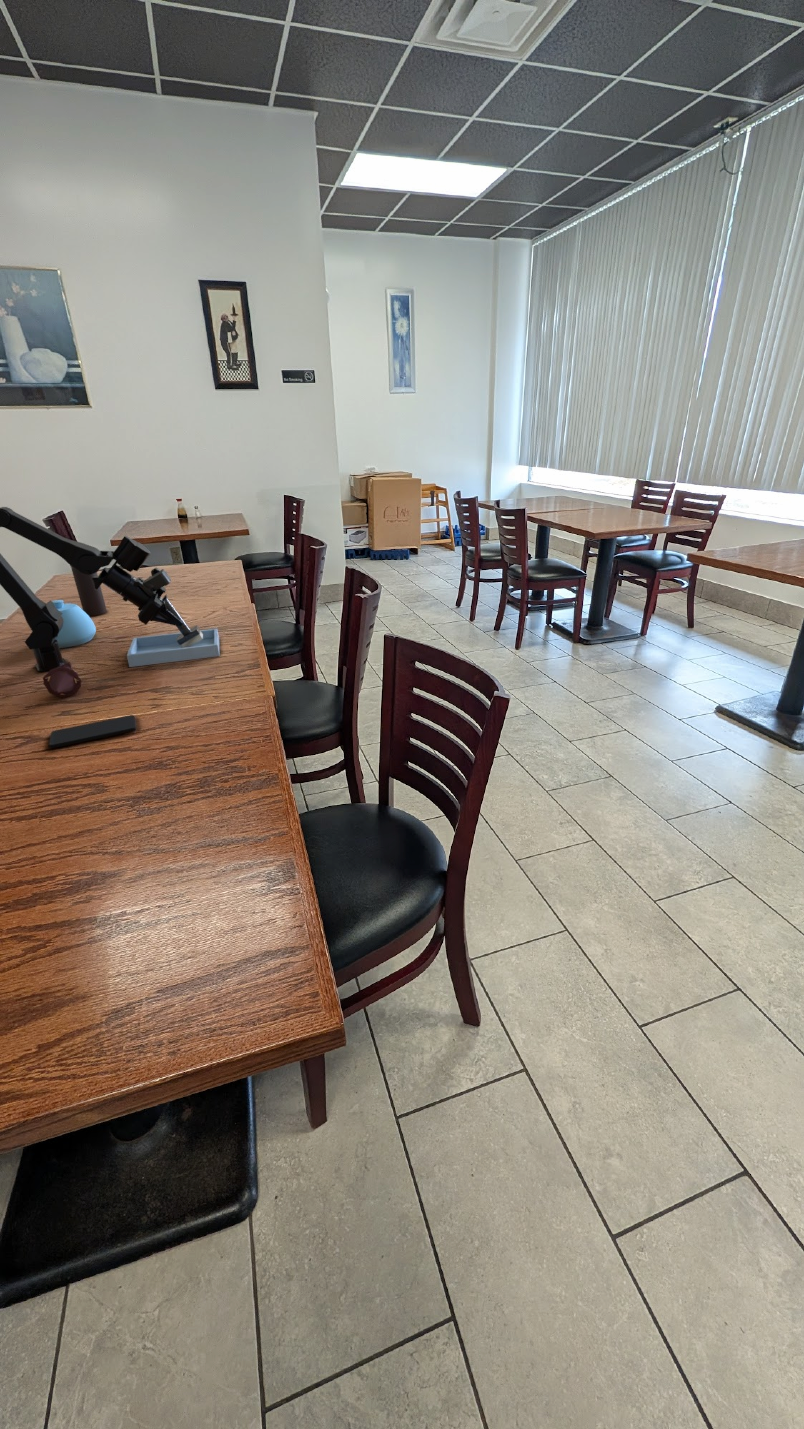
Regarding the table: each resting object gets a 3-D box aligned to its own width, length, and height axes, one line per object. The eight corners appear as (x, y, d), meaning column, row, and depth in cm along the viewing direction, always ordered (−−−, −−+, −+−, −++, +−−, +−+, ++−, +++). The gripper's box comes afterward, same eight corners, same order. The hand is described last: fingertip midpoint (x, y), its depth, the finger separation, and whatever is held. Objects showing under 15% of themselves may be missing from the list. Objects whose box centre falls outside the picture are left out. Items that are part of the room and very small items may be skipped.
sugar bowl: (108, 637, 168) (98, 597, 163) (57, 653, 156) (44, 611, 151) (78, 630, 175) (68, 591, 170) (28, 644, 164) (14, 604, 159)
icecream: (77, 677, 123) (86, 659, 136) (36, 673, 120) (50, 656, 133) (76, 708, 124) (86, 688, 138) (36, 706, 122) (49, 686, 135)
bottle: (79, 616, 189) (61, 553, 180) (93, 610, 195) (76, 549, 186) (98, 616, 188) (81, 553, 179) (111, 610, 194) (95, 549, 185)
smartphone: (50, 731, 112) (134, 714, 118) (51, 734, 113) (135, 718, 118) (47, 746, 107) (136, 727, 112) (49, 750, 107) (137, 731, 113)
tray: (129, 667, 145) (126, 655, 144) (136, 648, 158) (133, 637, 156) (219, 656, 150) (217, 644, 149) (219, 639, 163) (217, 628, 161)
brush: (183, 650, 153) (151, 608, 147) (184, 645, 157) (153, 604, 151) (203, 638, 154) (172, 596, 147) (203, 633, 157) (173, 592, 151)
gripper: (141, 567, 136) (200, 608, 143) (149, 553, 152) (201, 591, 160) (113, 604, 138) (172, 643, 145) (124, 586, 154) (177, 622, 161)
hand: (182, 623), depth 153 cm, fingers closed on brush, 2 cm apart
